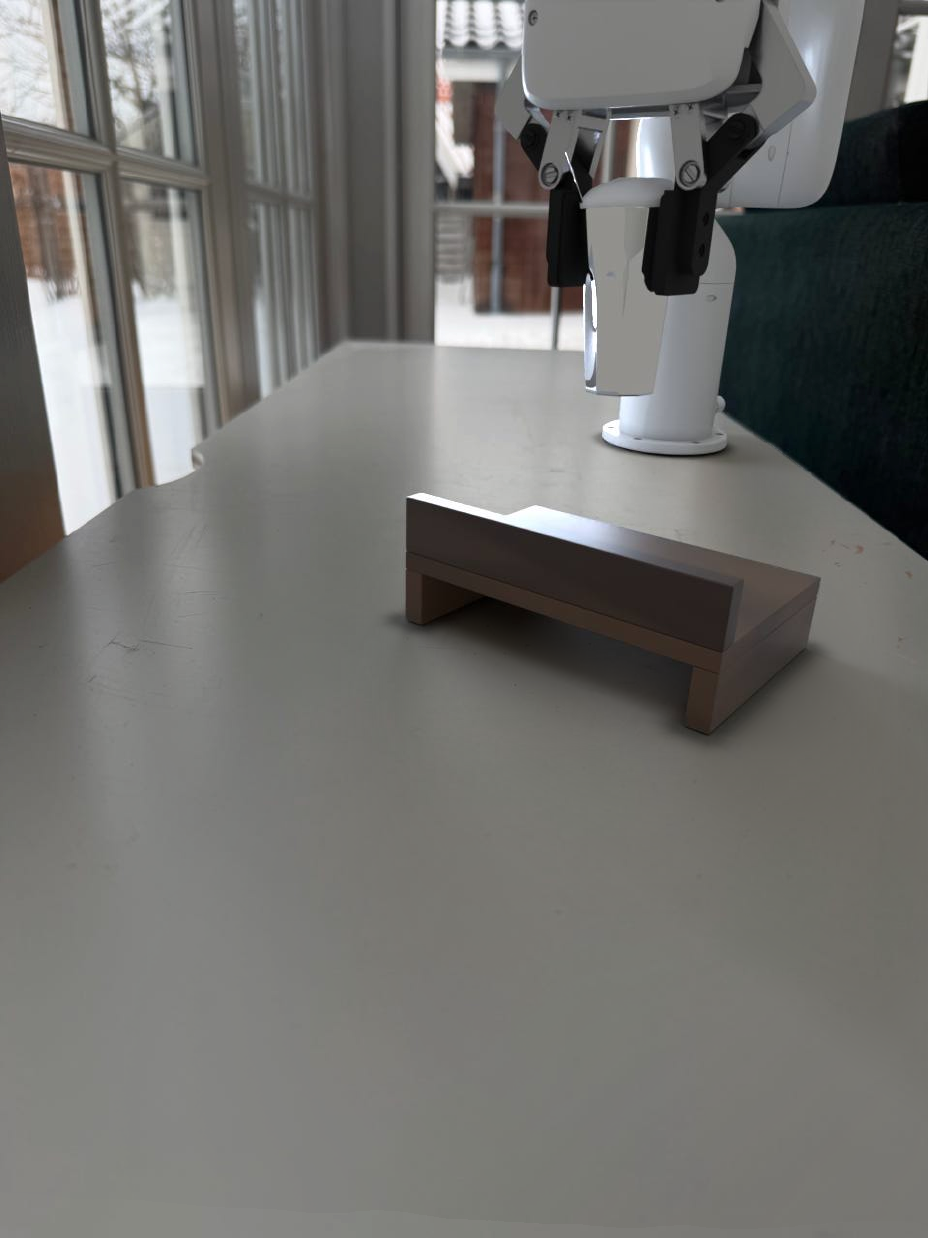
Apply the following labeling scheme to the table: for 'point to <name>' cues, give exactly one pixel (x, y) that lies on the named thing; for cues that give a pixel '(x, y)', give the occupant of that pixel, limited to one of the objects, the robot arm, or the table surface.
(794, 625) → the shelf
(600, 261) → the milkshake
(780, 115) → the robot arm
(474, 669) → the table surface
